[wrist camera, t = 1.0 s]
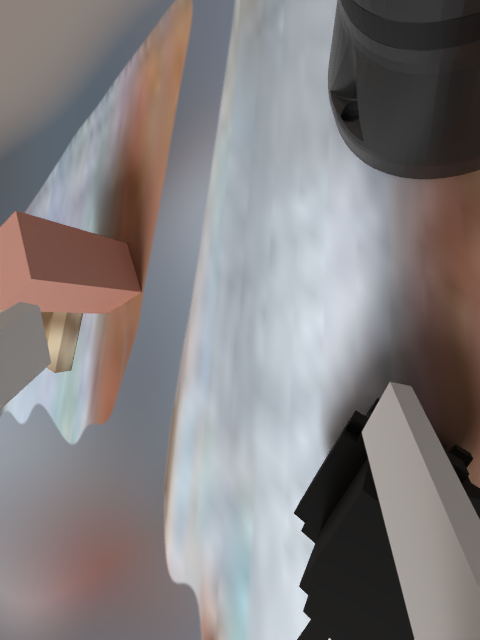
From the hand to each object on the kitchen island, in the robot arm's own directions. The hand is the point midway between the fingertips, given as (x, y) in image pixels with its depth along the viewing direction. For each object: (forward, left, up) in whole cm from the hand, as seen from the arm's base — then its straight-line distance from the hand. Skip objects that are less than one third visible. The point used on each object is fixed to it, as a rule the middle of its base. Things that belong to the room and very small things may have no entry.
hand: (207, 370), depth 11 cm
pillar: (0, -23, -14) cm, 27 cm away
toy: (+9, +7, -14) cm, 19 cm away
